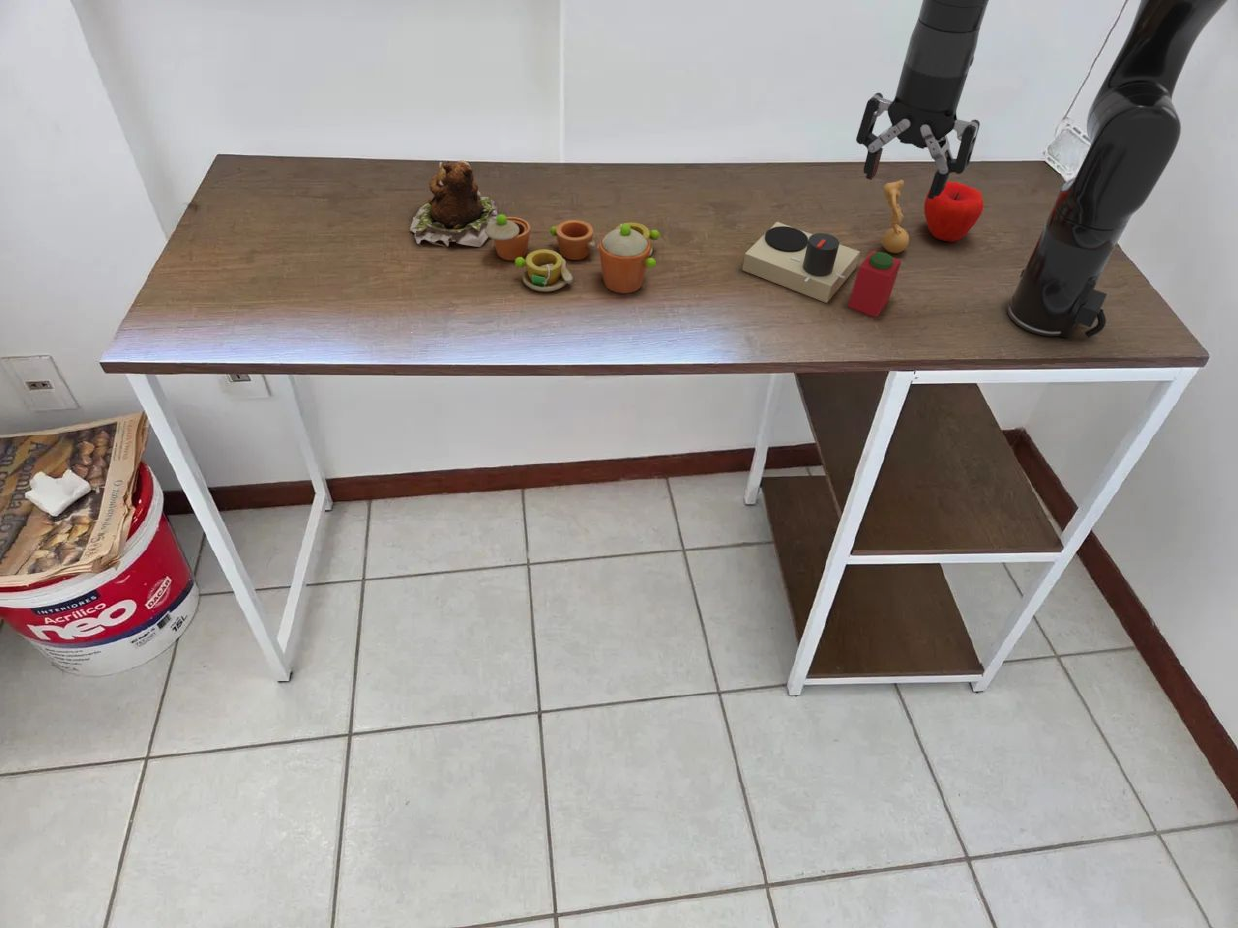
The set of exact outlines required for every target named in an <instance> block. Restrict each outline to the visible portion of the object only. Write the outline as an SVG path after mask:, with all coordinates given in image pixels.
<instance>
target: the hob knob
mask: <svg viewBox="0 0 1238 928" xmlns="http://www.w3.org/2000/svg"><path fill="white" fill-rule="evenodd" d="M812 234H813V235H811V236H810V237H809V240H808V244H807V249H806V253H805V257H804V262H803V269H804V270H805V271H806V272H807V273H809V274H811V275H814V276H827V275H829V274H831V273H832V271H833V267H834V263H835V259H836V255H837V252H838V248H839V244H840V241H839V239H838V238H837V237H836V236H835V235H832V234H830V233H826V232H825V233H824V232H816V233H812Z"/></svg>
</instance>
